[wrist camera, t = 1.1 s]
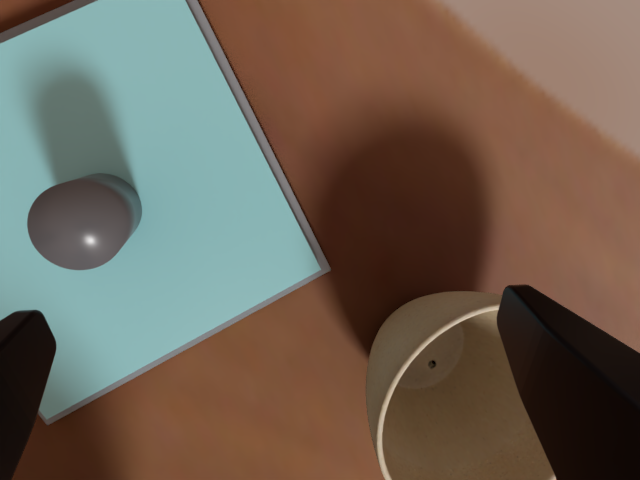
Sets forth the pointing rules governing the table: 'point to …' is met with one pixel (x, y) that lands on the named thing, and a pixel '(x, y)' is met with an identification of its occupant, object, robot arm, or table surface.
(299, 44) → the table surface
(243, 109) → the mat
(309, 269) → the cover
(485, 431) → the flower pot
